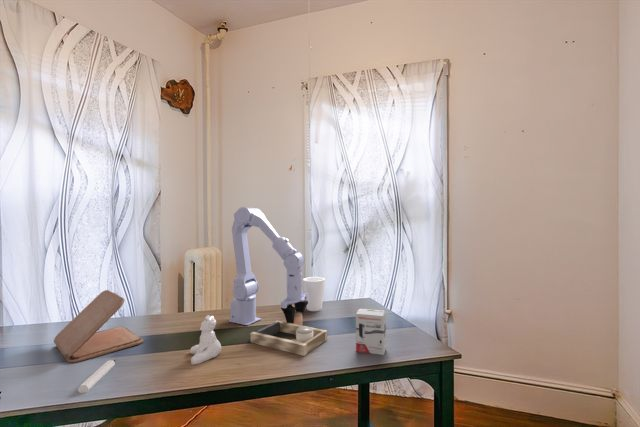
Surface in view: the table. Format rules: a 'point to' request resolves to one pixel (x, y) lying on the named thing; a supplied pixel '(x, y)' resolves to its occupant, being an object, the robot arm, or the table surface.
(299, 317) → the terracotta jar
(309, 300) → the foam cup
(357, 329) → the ink box
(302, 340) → the cream jar
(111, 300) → the case
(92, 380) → the marker
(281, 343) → the beige flat open box
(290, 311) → the robot arm
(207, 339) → the sitting furry creature
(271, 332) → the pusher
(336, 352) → the table surface
